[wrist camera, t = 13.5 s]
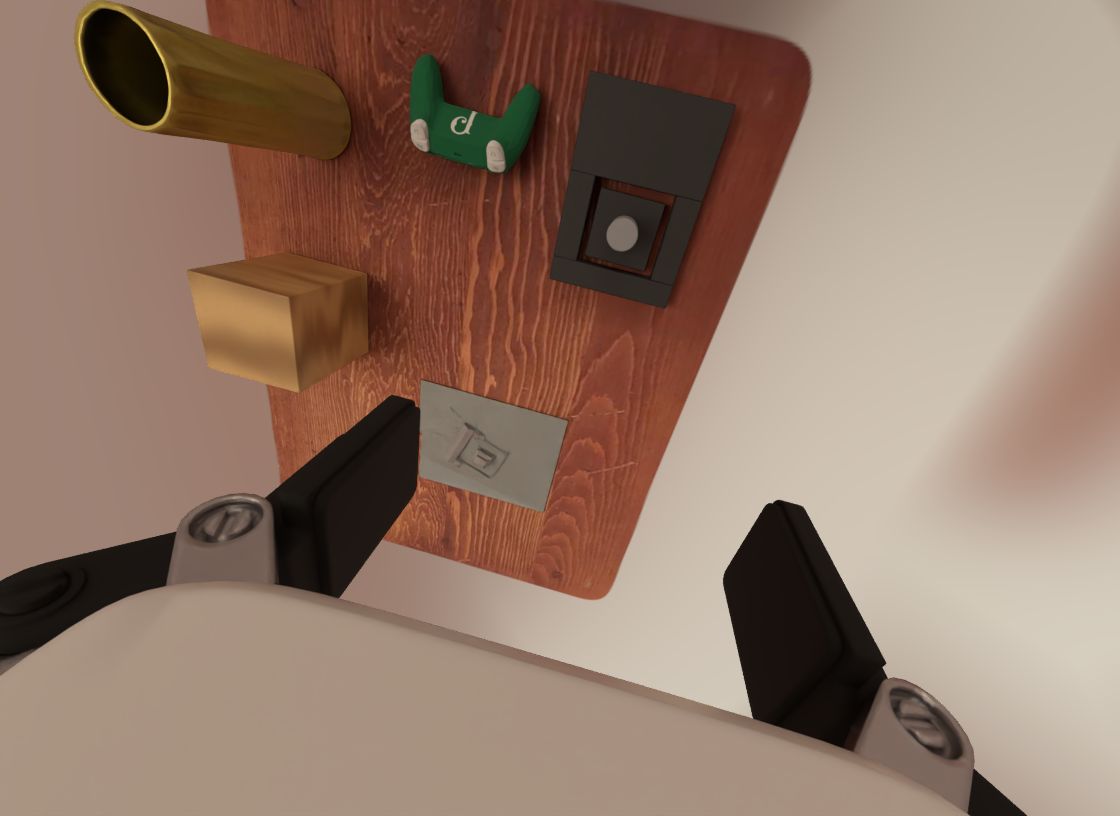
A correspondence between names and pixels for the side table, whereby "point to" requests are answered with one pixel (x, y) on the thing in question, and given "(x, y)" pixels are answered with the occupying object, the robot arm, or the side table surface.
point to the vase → (206, 85)
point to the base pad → (639, 175)
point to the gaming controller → (467, 123)
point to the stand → (281, 318)
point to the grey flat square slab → (488, 446)
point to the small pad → (615, 208)
